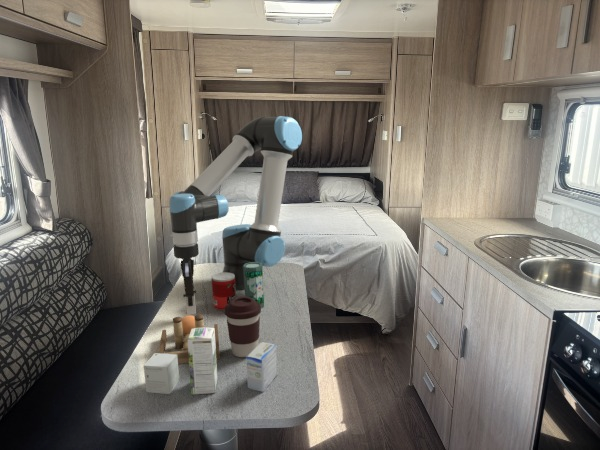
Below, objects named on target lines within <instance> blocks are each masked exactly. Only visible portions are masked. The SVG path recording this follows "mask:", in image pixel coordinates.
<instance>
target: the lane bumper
mask: <svg viewBox="0 0 600 450" xmlns="http://www.w3.org/2000/svg"><path fill="white" fill-rule="evenodd" d="M218 327H219V325H218V323H214V324H213V328H215V344H216V360H218V359H221V354H220V338H219V328H218ZM167 336H168V335H167V329H162V331H161V337H160V340H159V346H158V352H157V353H161V354H163V353H166V354H177V357H178V365H179V364H186V363H188V364H189V355H188V350H184V351H182V350H176V351H168V352H165V351H166V346H167V341H168V340H167V339H168V337H167Z"/></svg>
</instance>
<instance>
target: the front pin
mask: <svg viewBox="0 0 600 450" xmlns="http://www.w3.org/2000/svg"><path fill="white" fill-rule="evenodd" d="M189 335H190V334H187V335H184V337H183V339H184V344H183V348H182V349H181V351H184V350H188V338H189Z"/></svg>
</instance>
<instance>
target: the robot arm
mask: <svg viewBox="0 0 600 450" xmlns="http://www.w3.org/2000/svg"><path fill="white" fill-rule="evenodd" d="M302 140H303V133H302V129H301V126H300V124H299V123H298V121H297V120H296V119H294V118H293V117H291V116H283V115H280V116H259V117H256V118H254V119H252V120H251V121H250V122H248V123H246V124H245V125H244V126H243V127H242V128H240V129H239V130H238V132H236V134H235V135H234V136H232V142H231V143H230V144H229V145H227V147H226V148H225V149H224V150H223V151H222V152H221V153H220V154H219V155H218V156H217V157H216V158H215V159H214V160H213V161H212V162H211V163H210V164H209V165H208V166H207V167H206V168H205V170H203V171H202V173H201V174H199V175H198V176H197V177H196V179H195V180H194V181H193V182H192V183H190V185H189V186H188V187H187V188H186V189H184V191H183V190H181V191H177V192H175V193H174V194H172V195H171V196H170V198H169V209H168V211H169V213H170V215H169V216H170V224H171V232H172V233H171V234H170V235H169V236H170V238H172V243H173V246H172V247H173V256H174V257H175V258H177V259H180V269H181V276H182V278H183V285H184V294H183V295H182V296H183V298H185V305H186V316H188V315H192V316H194V315H197V311H196V310H197V309H196V298H195V294H196V293H197V290H194V289H195V286H194V275H195V274H194V273H195V272H194V271H195V269H194V265H195V262H194V259H193V258H195V257H198V256H199V253H200V252H199V244H198V241H199V240H198V228H197V226H198V225H197V223H202V222H206V221H212V220H219V219H221V218H224V217H226V216H227V215H228V212H229V201H228V199H227V197H225V196H224V195H223V194H213V193H214V192H215V191H216V190H217V189H219V187H220V186H221V185H222V183H224V182H225V181H226V180H227V179H228V177H229V176H230V175H231V174H233V172H234V171H235V170H236V169H237V168H238V167H239V166H240V165H241V164H242V162H244V160H245V159H246V158H247V157H252V156H253V155H254V154H255V153H256V152H258V151H259V150H260V153H261V155H262V157H263V162H262V163H263V164H262V169H261V176H260V182H259V189H258V196H257V201H256V210H255V216H254V222H253V223H252V224H250V223H249V224H248V223H247V224H246V223H245V224H236V225H231V226H227V227H225V228H224V229H223V230H222V237H221V239H222V250H223V265H224V266H223V269H222V272H221V273H223V272H227V273H232V274H234V275H235V288H236V290H240V291H241V290H244V271H243V265H244V264H246V263H249V262H259V263H262V267H266V268H271V267H275V266H276V265H277V264H279V263H280V262H281V260H282V258H283V257H284V255H285V252H286V243H285V240H284V239H283V238H282V237H281V233H282V230H281V228H280V227H279V220H280V213H281V207H282V199H283V194H284V187H285V182H286V181H285V180H286V173H287V166H288V161H289V160H291V158H293V157H294V156H293V153H294V151H295V150H298V148H299V147H300V146H301V144H302Z"/></svg>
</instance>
